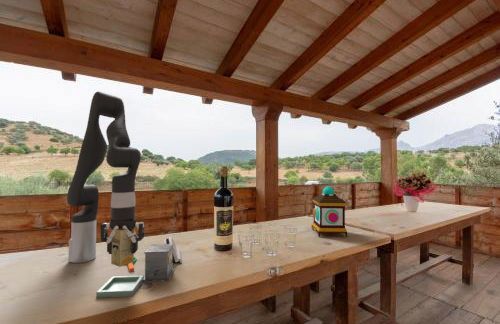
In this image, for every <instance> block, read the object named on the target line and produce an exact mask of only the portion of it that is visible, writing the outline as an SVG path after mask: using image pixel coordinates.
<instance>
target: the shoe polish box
mask: <svg viewBox="0 0 500 324" xmlns="http://www.w3.org/2000/svg"><path fill="white" fill-rule="evenodd" d="M112 231H113V230H112V229H111V232H112ZM134 231H135V227H134V228H133V229H132V231H131V233H134ZM111 243H112V248H111V254H110V255H111V256H110V257H111V258H110V259H111V261H110V264H111V265H114V266H116V267H119V268H120V267H122V266H124V267H125V266H127V265H126V264H129V263H132V262H134V257H135V256H134V254H135V253H134V254H132V243H133V242H132V240H131V239H130V238H129V237H128V235H127V233H126V229H116V230H115V235H114V237H113V239H112V241H111Z"/></svg>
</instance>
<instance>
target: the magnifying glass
mask: <svg viewBox="0 0 500 324" xmlns="http://www.w3.org/2000/svg"><path fill="white" fill-rule="evenodd" d="M137 261H138V260H137V257H135V256H134V262H132V263H129V264H126V265H125V266H127V268H128V272H129V273H130V272H134V271H135V267H134V264H135V263H136V262H137Z"/></svg>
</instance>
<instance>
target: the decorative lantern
mask: <svg viewBox="0 0 500 324" xmlns="http://www.w3.org/2000/svg"><path fill="white" fill-rule="evenodd" d="M311 201H312V202H313V209H312V216H313V222H312V224H311V229H312V230H311V231H314V230H315V231H316V232H317V235H318V238H321V235H322V233H323V234H324V233H325V234H327V233H329V234H343V236H344V238H347V237H348V231H347V228H346V221H345V220H346V206H347V204H348V203H347V202H346V201H345V200H344V199H343V198H340V197H339V196H338V195H337V194H336V193H335V190H334V188H333V187H332V186H329V185H328V186H326V187H324V188H323V190H322V193H321V194H319V195H317V196H314V197H313V198H312V199H311Z"/></svg>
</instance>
